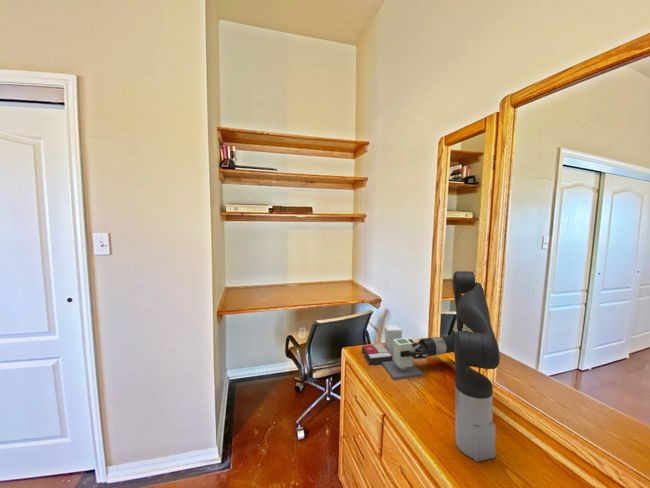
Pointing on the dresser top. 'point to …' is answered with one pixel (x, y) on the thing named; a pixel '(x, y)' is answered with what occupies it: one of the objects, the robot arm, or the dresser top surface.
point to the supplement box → (391, 336)
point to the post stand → (401, 371)
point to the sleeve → (400, 346)
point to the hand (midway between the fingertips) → (397, 350)
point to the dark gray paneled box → (376, 354)
